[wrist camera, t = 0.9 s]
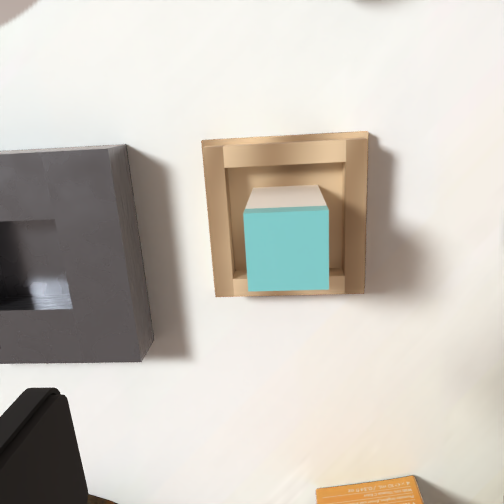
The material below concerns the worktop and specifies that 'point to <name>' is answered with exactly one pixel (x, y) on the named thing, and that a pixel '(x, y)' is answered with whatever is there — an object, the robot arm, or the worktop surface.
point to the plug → (287, 239)
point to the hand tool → (98, 500)
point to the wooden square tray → (288, 174)
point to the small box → (373, 493)
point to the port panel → (70, 258)
